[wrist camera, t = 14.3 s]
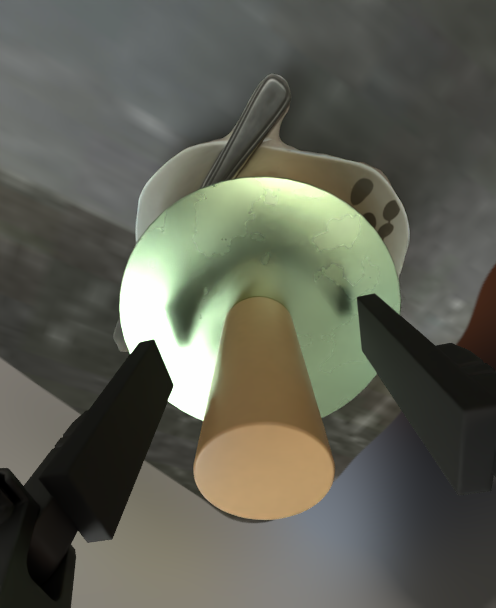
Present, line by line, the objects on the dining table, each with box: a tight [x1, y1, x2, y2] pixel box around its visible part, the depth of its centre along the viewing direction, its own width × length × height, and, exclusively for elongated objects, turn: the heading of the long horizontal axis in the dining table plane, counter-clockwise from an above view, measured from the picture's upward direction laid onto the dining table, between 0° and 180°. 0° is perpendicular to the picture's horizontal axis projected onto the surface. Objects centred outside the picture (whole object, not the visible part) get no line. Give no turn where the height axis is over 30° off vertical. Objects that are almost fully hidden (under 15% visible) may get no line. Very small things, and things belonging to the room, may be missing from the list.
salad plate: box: [113, 74, 410, 352], centre depth 16 cm, size 19×18×5 cm
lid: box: [119, 176, 401, 520], centre depth 11 cm, size 14×14×9 cm
